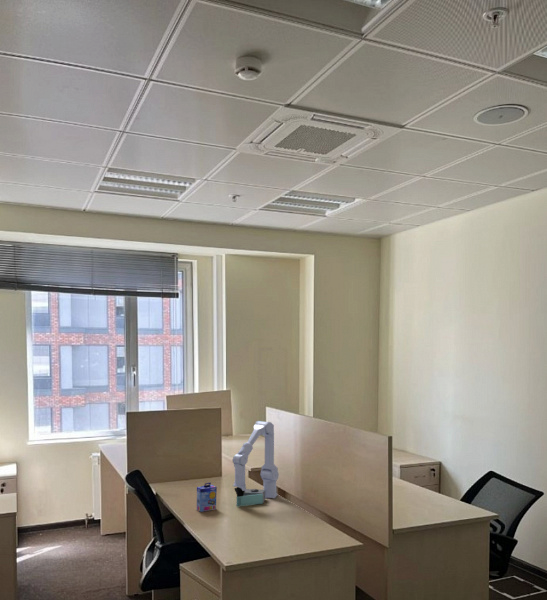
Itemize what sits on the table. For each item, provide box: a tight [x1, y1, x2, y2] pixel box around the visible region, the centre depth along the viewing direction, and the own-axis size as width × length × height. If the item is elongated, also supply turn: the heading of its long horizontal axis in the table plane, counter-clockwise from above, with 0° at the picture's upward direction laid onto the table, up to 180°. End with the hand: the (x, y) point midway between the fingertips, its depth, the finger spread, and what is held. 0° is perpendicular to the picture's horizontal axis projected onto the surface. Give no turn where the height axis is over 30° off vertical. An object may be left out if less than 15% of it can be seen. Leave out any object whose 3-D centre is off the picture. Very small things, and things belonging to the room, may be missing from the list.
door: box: [236, 494, 265, 507], centre depth 324 cm, size 1×16×5 cm, turn 111°
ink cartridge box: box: [196, 482, 218, 513], centre depth 317 cm, size 10×6×14 cm, turn 122°
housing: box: [243, 488, 266, 502], centre depth 333 cm, size 8×11×6 cm
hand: (240, 501), depth 324 cm, fingers closed
